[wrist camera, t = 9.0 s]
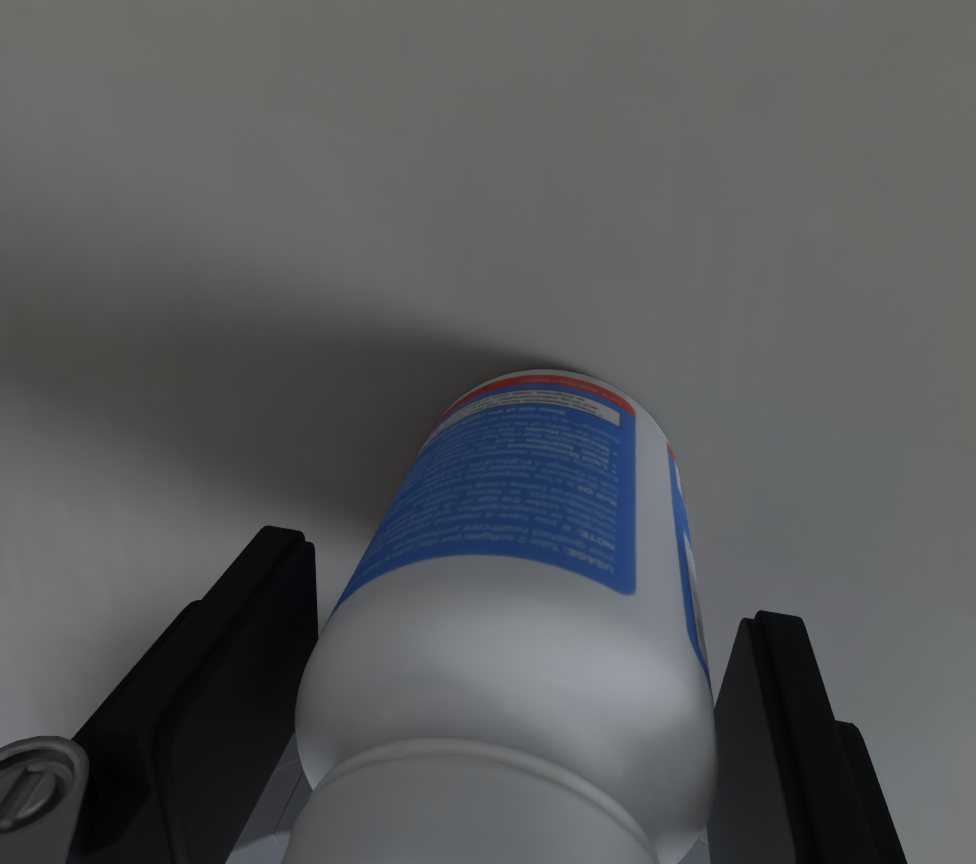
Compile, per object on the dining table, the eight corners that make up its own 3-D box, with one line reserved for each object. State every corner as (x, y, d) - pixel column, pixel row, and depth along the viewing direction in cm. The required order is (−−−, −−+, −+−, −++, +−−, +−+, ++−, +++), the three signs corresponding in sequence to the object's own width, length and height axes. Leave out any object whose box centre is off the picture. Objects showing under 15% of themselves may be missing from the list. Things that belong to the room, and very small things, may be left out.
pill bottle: (376, 470, 16) (66, 935, 7) (551, 305, 14) (408, 694, 5) (549, 627, 17) (461, 1200, 8) (739, 498, 15) (898, 1103, 6)
